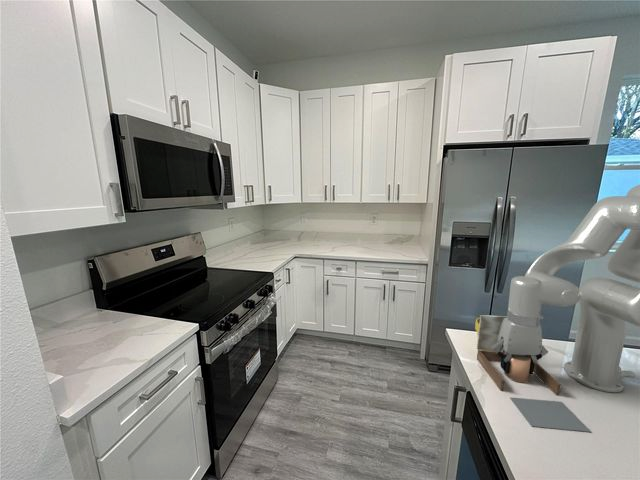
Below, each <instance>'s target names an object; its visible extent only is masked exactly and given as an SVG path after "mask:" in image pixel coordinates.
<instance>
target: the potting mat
mask: <svg viewBox="0 0 640 480" xmlns="http://www.w3.org/2000/svg"><path fill="white" fill-rule="evenodd" d="M509 399H510V400H511V401H512V403H513V404H514V405H515V408H517V410H518V411H519V413H521V414H522V416H523V417H524V419H525V420H526V421H527V423H528V424H529V425H530V426H531V427H533V428H542V429H553V430H561V431H571V432H572V431H573V432H574V431H575V432H583V433H584V432H585V433H592V431H591V430H590V429H589V427H588V426H587V425H585V424H584V423H583V422H582V421H581V419H579V418H578V417H577V415H576V414H574V412H572V411H571V409H570V408H569V407H568V406H566V405H565V404H564V402H563V401H558V400H557V401H556V400H545V399H533V398H524V397H523V398H521V397H520V398H519V397H511V396H510V397H509Z"/></svg>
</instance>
